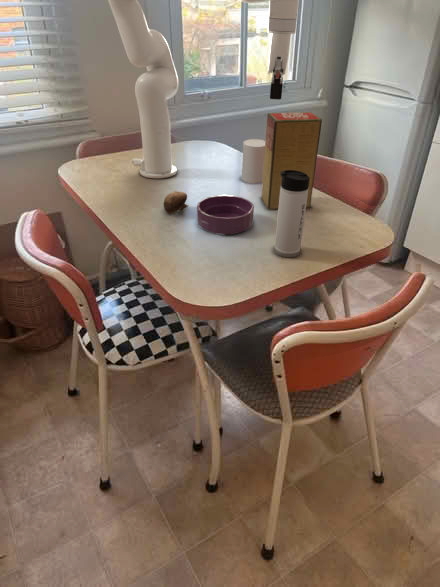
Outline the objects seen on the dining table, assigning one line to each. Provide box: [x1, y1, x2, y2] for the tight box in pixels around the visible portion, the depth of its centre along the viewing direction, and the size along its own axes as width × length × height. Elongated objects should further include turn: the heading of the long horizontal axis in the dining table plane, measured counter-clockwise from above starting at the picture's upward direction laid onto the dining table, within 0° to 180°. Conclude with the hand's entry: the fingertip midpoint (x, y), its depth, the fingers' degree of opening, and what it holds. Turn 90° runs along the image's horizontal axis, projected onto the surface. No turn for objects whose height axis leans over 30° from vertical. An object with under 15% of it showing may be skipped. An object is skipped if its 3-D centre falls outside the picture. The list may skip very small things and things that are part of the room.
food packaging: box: [260, 111, 323, 211], centre depth 126 cm, size 13×9×25 cm
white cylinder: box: [241, 138, 266, 184], centre depth 146 cm, size 8×8×12 cm
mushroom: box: [163, 190, 189, 215], centre depth 126 cm, size 8×8×6 cm
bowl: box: [196, 194, 255, 235], centre depth 120 cm, size 15×15×5 cm
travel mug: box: [273, 170, 310, 258], centre depth 103 cm, size 6×7×20 cm
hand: (275, 95), depth 128 cm, fingers open, 9 cm apart
